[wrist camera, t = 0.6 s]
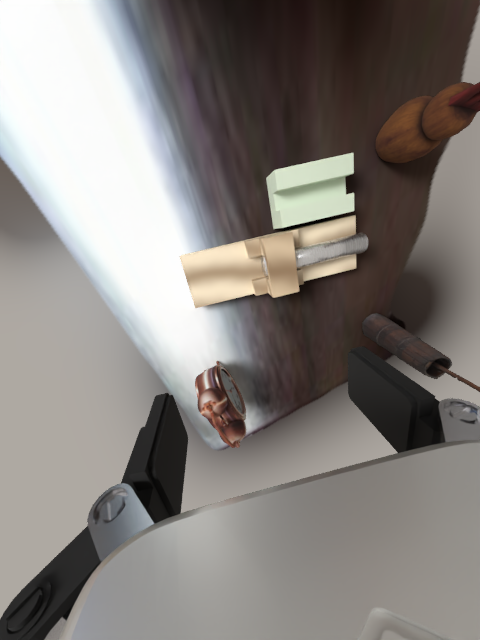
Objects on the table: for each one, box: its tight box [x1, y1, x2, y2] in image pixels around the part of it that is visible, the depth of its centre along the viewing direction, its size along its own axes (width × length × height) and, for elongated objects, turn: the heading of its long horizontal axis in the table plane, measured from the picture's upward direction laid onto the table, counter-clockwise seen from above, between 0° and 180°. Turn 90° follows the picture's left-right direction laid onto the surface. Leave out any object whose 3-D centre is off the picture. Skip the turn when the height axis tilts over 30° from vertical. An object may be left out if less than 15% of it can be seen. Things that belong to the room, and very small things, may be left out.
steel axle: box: [261, 233, 368, 276], centre depth 34 cm, size 16×3×3 cm, turn 102°
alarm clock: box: [195, 361, 246, 448], centre depth 38 cm, size 11×5×15 cm, turn 29°
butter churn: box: [362, 313, 480, 392], centre depth 32 cm, size 9×10×28 cm
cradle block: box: [266, 153, 354, 229], centre depth 33 cm, size 7×11×4 cm, turn 102°
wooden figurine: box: [375, 82, 480, 163], centre depth 27 cm, size 7×6×15 cm
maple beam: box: [180, 215, 356, 308], centre depth 34 cm, size 8×28×7 cm, turn 102°
